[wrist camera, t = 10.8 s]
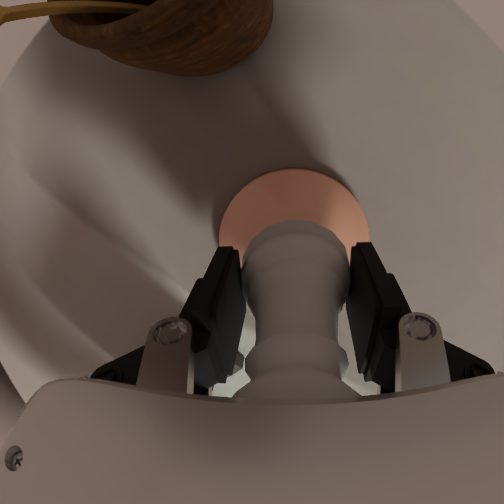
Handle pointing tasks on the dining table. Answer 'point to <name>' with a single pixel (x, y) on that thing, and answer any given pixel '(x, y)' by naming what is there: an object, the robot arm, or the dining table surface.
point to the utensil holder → (159, 30)
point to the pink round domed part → (292, 208)
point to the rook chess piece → (296, 312)
